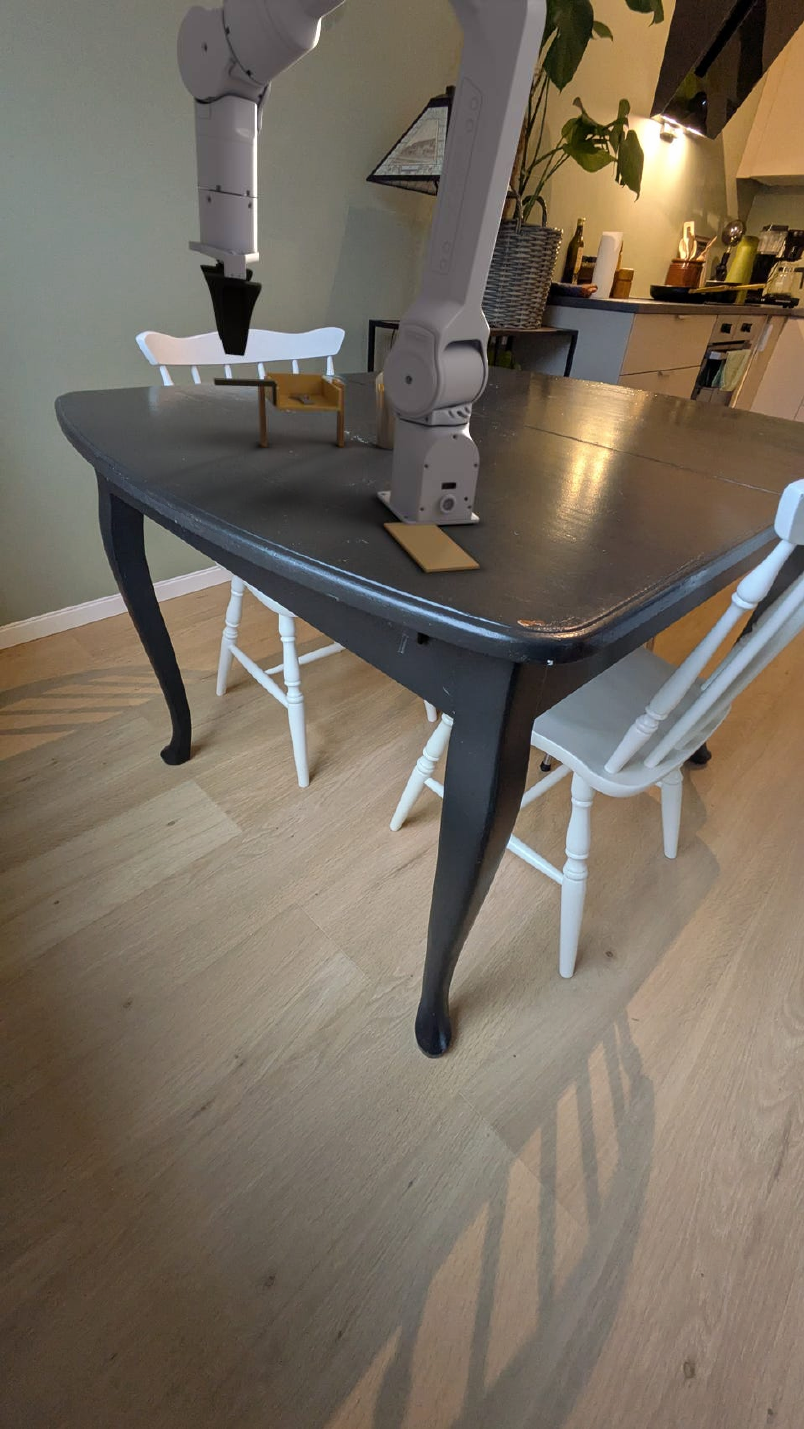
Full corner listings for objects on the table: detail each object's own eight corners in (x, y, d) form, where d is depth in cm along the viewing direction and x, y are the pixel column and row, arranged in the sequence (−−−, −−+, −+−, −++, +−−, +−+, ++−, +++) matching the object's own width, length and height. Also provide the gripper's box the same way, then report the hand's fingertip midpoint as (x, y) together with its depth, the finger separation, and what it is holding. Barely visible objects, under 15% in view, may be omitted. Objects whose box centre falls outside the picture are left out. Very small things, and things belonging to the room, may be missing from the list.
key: (316, 405, 78) (316, 401, 78) (297, 404, 78) (297, 401, 77) (306, 396, 82) (306, 393, 82) (288, 396, 81) (288, 392, 81)
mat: (478, 568, 55) (479, 565, 55) (426, 572, 53) (426, 569, 53) (430, 523, 63) (431, 520, 63) (383, 526, 61) (383, 523, 61)
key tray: (345, 411, 79) (346, 383, 77) (217, 409, 74) (214, 380, 72) (327, 396, 85) (327, 371, 83) (208, 394, 80) (205, 367, 78)
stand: (343, 446, 84) (345, 384, 80) (262, 447, 81) (259, 382, 76) (340, 443, 85) (341, 381, 81) (260, 443, 82) (257, 379, 78)
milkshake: (407, 442, 89) (414, 362, 83) (403, 452, 84) (410, 368, 78) (375, 439, 89) (379, 358, 83) (370, 448, 85) (374, 364, 79)
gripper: (183, 184, 67) (191, 331, 75) (188, 188, 57) (197, 357, 65) (251, 196, 69) (252, 337, 78) (267, 201, 59) (266, 364, 67)
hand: (231, 347), depth 71 cm, fingers open, 7 cm apart
